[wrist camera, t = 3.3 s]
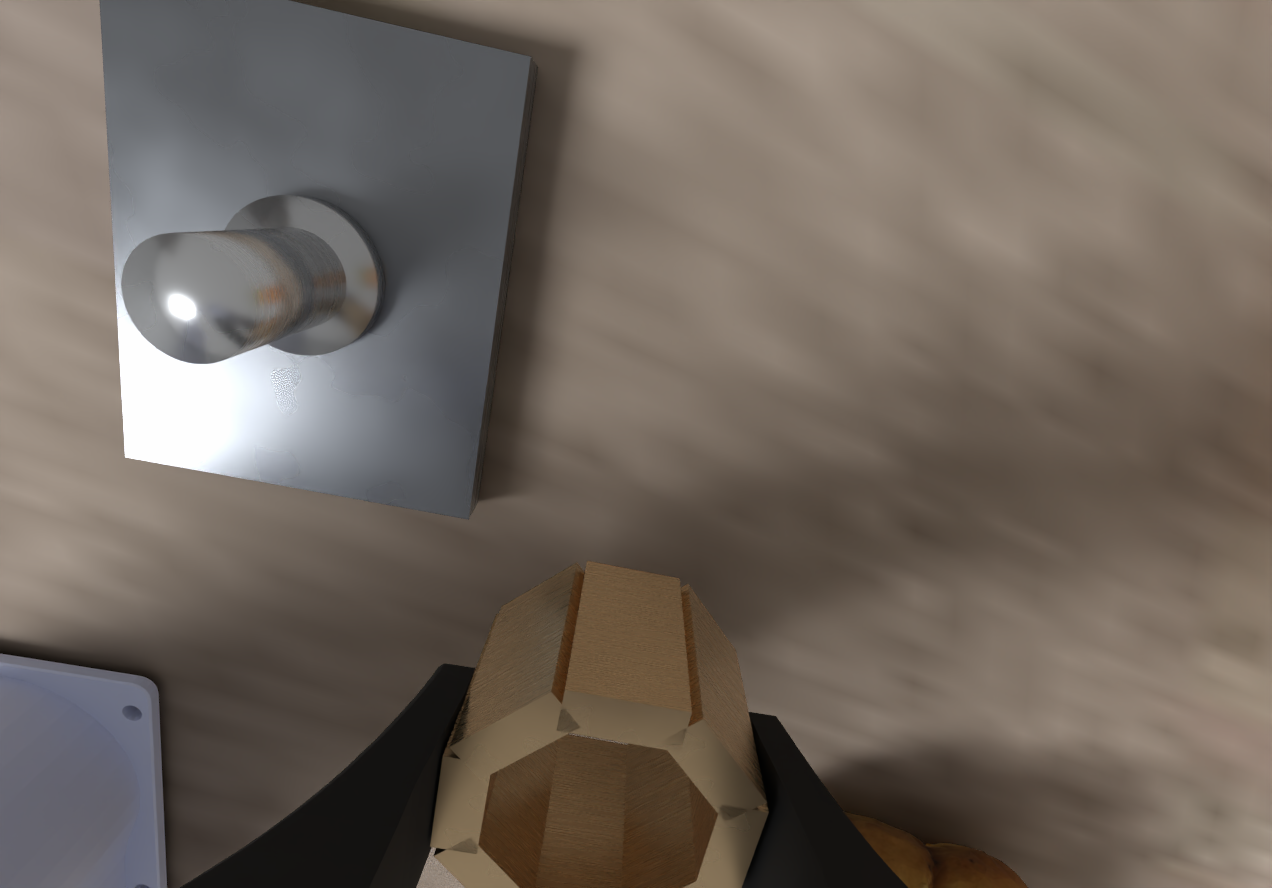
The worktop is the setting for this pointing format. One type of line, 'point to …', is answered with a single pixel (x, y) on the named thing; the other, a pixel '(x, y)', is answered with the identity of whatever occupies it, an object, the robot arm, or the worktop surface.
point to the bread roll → (934, 860)
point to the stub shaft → (311, 243)
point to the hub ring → (602, 744)
